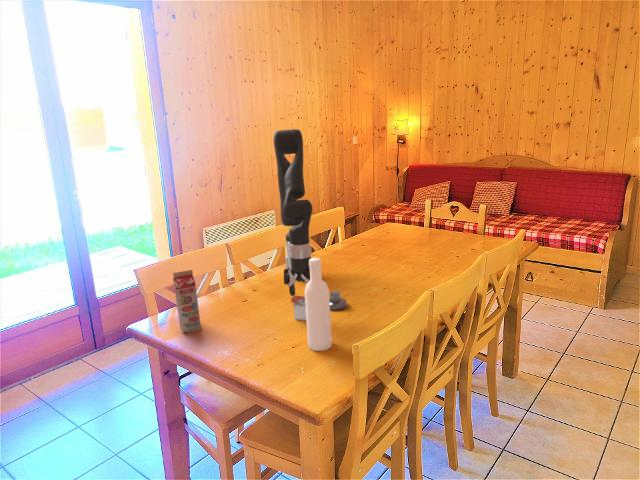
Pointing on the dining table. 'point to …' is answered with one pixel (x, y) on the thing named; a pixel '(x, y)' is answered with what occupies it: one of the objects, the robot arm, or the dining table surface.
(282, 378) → the dining table surface
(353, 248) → the dining table surface
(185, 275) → the juice carton
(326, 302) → the bottle
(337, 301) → the ratchet
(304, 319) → the socket
